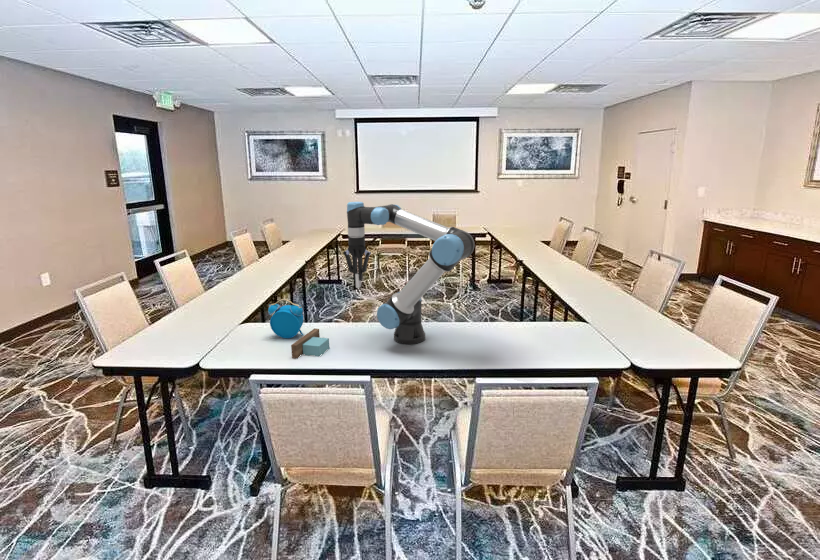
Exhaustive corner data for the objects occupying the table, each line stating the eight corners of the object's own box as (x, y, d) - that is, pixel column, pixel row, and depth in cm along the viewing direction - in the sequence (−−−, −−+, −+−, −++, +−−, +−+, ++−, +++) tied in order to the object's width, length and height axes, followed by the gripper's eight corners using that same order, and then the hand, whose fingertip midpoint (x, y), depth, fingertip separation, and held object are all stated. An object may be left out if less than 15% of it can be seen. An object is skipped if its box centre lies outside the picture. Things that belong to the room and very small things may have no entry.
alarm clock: (308, 333, 234) (305, 295, 230) (301, 341, 224) (298, 300, 220) (275, 333, 236) (272, 294, 231) (267, 340, 226) (264, 300, 221)
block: (329, 348, 216) (328, 338, 215) (319, 357, 206) (319, 346, 205) (313, 347, 218) (312, 336, 217) (303, 355, 208) (302, 344, 207)
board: (319, 340, 225) (319, 328, 223) (297, 358, 204) (296, 345, 203) (315, 340, 226) (314, 328, 224) (292, 358, 205) (291, 345, 204)
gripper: (372, 235, 215) (374, 285, 220) (346, 234, 218) (348, 284, 224) (367, 238, 208) (368, 289, 213) (339, 237, 211) (342, 288, 216)
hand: (358, 287), depth 218 cm, fingers closed
